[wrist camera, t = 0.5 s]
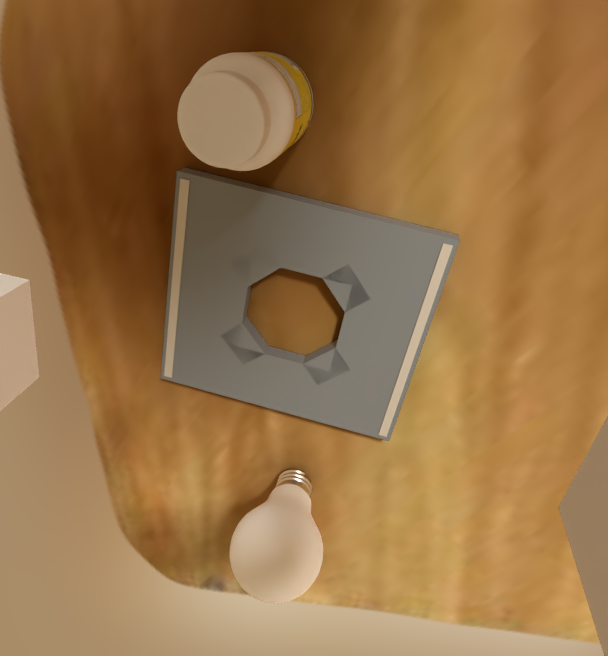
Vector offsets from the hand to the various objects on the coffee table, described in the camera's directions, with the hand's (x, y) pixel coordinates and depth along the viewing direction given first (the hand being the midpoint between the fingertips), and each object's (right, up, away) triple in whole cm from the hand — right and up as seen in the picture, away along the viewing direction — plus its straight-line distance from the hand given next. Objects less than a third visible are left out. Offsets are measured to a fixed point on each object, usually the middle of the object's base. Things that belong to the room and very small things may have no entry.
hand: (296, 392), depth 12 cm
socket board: (0, +3, +26) cm, 26 cm away
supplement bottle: (-2, +15, +20) cm, 25 cm away
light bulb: (0, -11, +33) cm, 34 cm away
